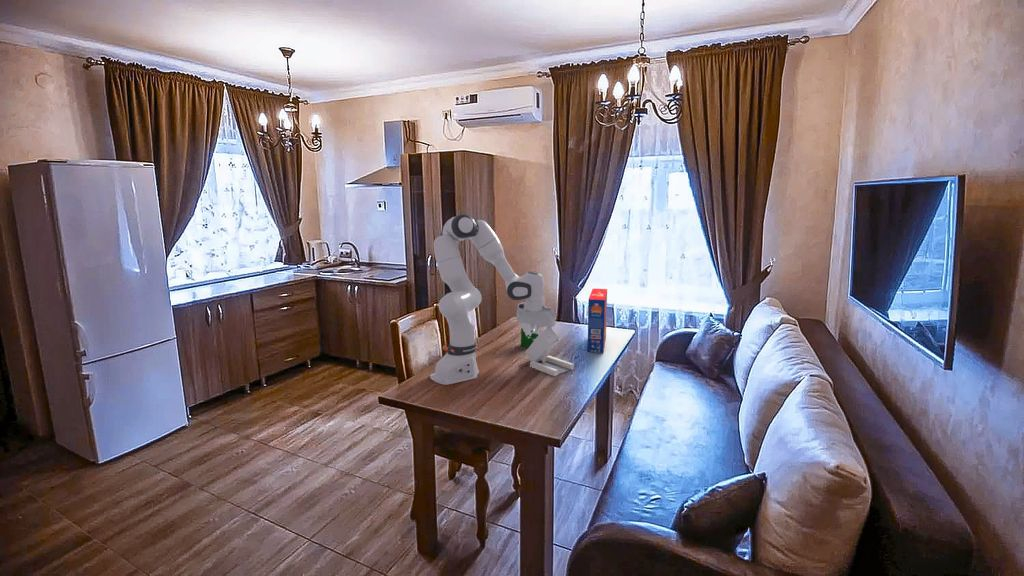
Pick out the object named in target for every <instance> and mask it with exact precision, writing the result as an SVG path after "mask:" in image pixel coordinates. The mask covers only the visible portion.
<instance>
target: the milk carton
mask: <svg viewBox="0 0 1024 576" xmlns="http://www.w3.org/2000/svg"><path fill="white" fill-rule="evenodd" d="M559 338H560V336H559V334H557V332H556V331H555V330H554V329H553V327H551V328H550V327H545V328H544V330H542V331H540V332H539V334H538V337H537V338H536V339H535V340H534V342H533V343H532V344H531V345H530V347H529V348H528V347H527V349H526V350H525V352H524V354H525V355H526V356H527V358H528V359H529V360H530V362H531V361H535V362H537V363H540V362H542V360H544V358H546V356H548V354H549V353H550V352H551V350H552V349H553V347H554V346H556V344H557V343H558V342H559Z"/></svg>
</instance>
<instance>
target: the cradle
mask: <svg viewBox="0 0 1024 576" xmlns="http://www.w3.org/2000/svg"><path fill="white" fill-rule="evenodd" d="M529 367H530V368H531V367H532V368H531V369H534V368H535V370H537V371H540V372H542V373H545V374H548V375H551V376H553V377H556V376H559V375H562V374H564V373H567V372H570V371H572V370H574V369H575V363H572V362H571V361H570V362H569V361H567V360H564V359H561V358H558V357H556V356H555V357H554V356H551V355H546V356H545V360H544V361H540V362H535V361H531V360H530V361H529Z"/></svg>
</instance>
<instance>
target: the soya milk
mask: <svg viewBox="0 0 1024 576" xmlns="http://www.w3.org/2000/svg"><path fill="white" fill-rule="evenodd" d="M534 327H535V329H537V328H538V327H537V325H535V326H534ZM538 335H539V334H534V333H532V329H531V327H530V324H526V323H520V347H525V348H527V349H528V348H529V347H530V345H531V344H532V343H533V342H534V340H535V339H536V338H537V337H538Z"/></svg>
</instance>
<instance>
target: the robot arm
mask: <svg viewBox="0 0 1024 576" xmlns="http://www.w3.org/2000/svg"><path fill="white" fill-rule="evenodd" d="M466 239H468V240H469V241H471V242H472V244H473V245H474V247H475V248H476V250H477V251H478V253H479V255H480V256H481V257H482V258H483V259H484V260H485V261H487V262H488V263H490V264H492V265H493V266H494V267H495V268H496V270H497V271H498V273H499V275H500V276H501V278H502V279H503V282H504V288H505V292H506V294H507V296H508V298H510V299H511V300H513V301H521V300H525V301H523V302H519V303H518V304H517V305H516V307H517V310H516V321H517V322H518V323H519V324H521V323H526V324H530V327H531V329H532V333H534V334H538V335H539V334H540V330H541V328H542V327H543V328H544V327H545V328H547V327H550V328H553V327H555V325H556V317H555V316H556V313H555V310H554V309H553V308H552V307H549V306H548V307H547V306H546V303H545V302H546V298H545V290H546V289H545V287H546V286H545V285H546V284H545V278H544V276H543V274H542V273H541V272H538V271H532V270H531V271H528V272H526V273H525V274H523V275H522V276H520V275H518V274H517V273H516V272H515V270H514V269H513V268H512V266H511V265H510V263H509V262H508V261H507V258H506V254H505V252H504V251H505V250H504V247H503V245H502V243H501V241H500V238H499V237H498V235H497V234H496V232H495V231H494V230H493V228H491V226H490V225H489V223H488V222H487V221H485V220H484V219H483V220H482V219H477V220H476V219H474V218H473V217H472V216H470V215H468V214H466V213H465V214H463V213H460V214H458V215H455V216H452V217H451V218H450V219H448V220H446V221H445V222H444V224H443V225H442V228H441V233H440V235H439V236H437V237H436V238H435V239H434V240H433V243H432V244H433V252H434V257H435V261H436V265H437V268H438V269H437V270H438V272H439V276H440V279H441V280H442V282H444V283H445V285H447V286H448V287H449V289H450V291H451V292H448V293H446V294H445V295H444V296H443V297H441V298H440V300H439V302H438V309H439V312H440V314H441V316H443V317H444V318H445V319H446V322H447V324H448V329H449V344H448V346H447V345H443V346H442V350H443V351H446V353H445V354H444V355H443V357H441V359H439V361H438V362H436V364H435V368H434V372H433V373H431V374H430V375H429V379H430V380H432V381H433V382H435V383H437V384H440V385H445V386H448V385H454V384H456V383H457V384H458V383H462V382H466V381H471V380H475V379H477V378H478V374H479V373H480V370H479V368H478V364H477V358H476V351H477V348H476V347H477V346H476V342H475V326H474V324H473V323H472V322H471V321H470V319H469V318H470V317H469V312H471V311H473V310H475V309H476V308H477V307H479V305H481V303H482V294H481V291H480V290H479V289H478V288H476V287H475V286H474V284H473V283H472V282H471V280H470V277H468V275H467V272H466V269H465V266H464V262H463V258H462V257H461V252H460V250H459V245H460V244H459V243H460V242H462V241H465V240H466ZM535 325H537V327H538V328H537V329H535V327H534V326H535Z"/></svg>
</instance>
